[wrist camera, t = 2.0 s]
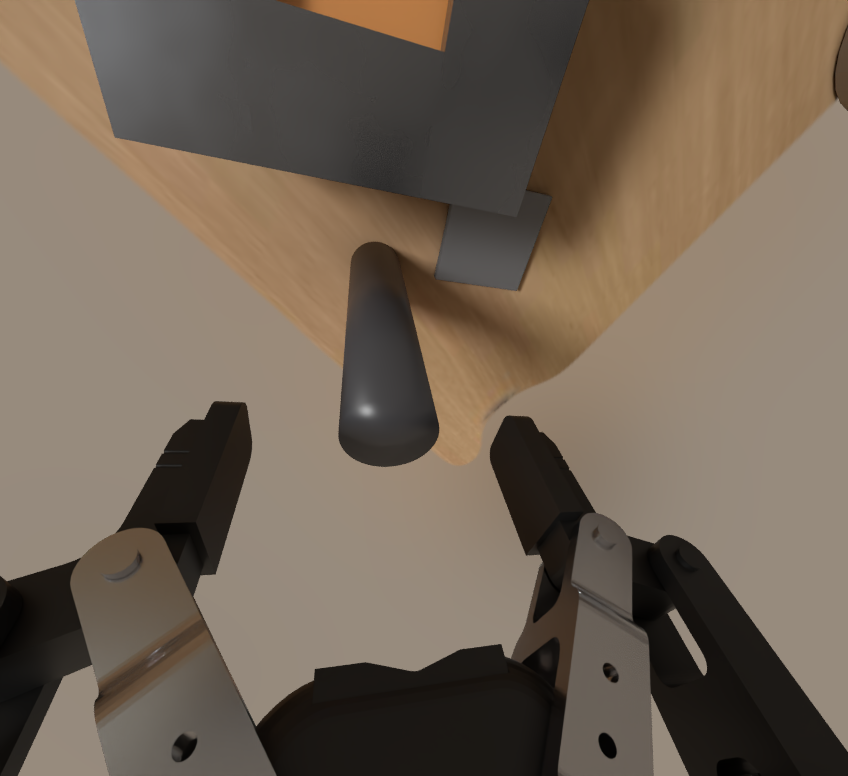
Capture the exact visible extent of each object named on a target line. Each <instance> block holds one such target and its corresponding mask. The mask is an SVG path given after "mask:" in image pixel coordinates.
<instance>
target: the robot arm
mask: <svg viewBox="0 0 848 776" xmlns="http://www.w3.org/2000/svg"><path fill="white" fill-rule="evenodd" d="M835 84H836V93H837V95H838V98H839V101H840V103H841V104H842V105H843V106H844V107H845V108H846V109H847V111H848V28H847V31H846V34H845V37H844V40H843V43H842V45H841V48H840V51H839V56H838V61H837V67H836V72H835ZM251 452H252V437H251V430H250V424H249V418H248V410H247V406H246V404H245V403H243V402H219V401H215V402H214V403H213V404H212V405H211V407H210V409H209V411H208V413H207V415H206V417H205V419H204V420H193V419H191V420H189V421H188V422H187V423H186V424H184V425H183V426H182V427H181V428H179V429H178V430H177V431H176V432H175V433H174V434H173V435H172V437H171V439H170V441H169V442H168V444H167V446H166V448H165V449H164V454H162V455H161V457H160V458H159V460H158V462H157V464H156V468H154V469H153V471H152V473H151V475H150V476H149V478H148V480H147V482H146V483H145V485H144V487H143V489H142V491H141V492H140V494H139V496H138V498H137V499H136V501H135V503H134V505H133V506H132V508H131V510H130V512H129V514H128V515H127V517H126V519H125V521H124V522H123V524H122V525H121V527H120V528H119V530H118V531H117V532H116V533H115V534H113V535H110V536H109V537H107V538H105V539H103V540H102V541H100V542H99V543H97V544H96V545H94V546H93V547H92V548H91V549H89V550H88V551H87V552H86V554H84V555H83V557H82V558H79V559H77V560H75V561H72V562H69V563H67V564H64V565H60V566H57V567H54V568H50V569H47V570H44V571H41V572H37V573H34V574H30V575H27V576H24V577H20V578H17V579H13V580H10V581H6V580H4V579H3V578H2V577H1V576H0V776H18V774H19V772H20V769H21V767H22V765H23V763H24V761H25V759H26V757H27V754H28V752H29V750H30V748H31V746H32V743H33V741H34V739H35V737H36V735H37V733H38V730H39V728H40V726H41V724H42V722H43V720H44V717H45V715H46V713H47V711H48V709H49V707H50V704H51V702H52V700H53V698H54V695H55V693H56V691H57V689H58V687H59V685H60V683H61V680H62V678H63V676H66V675H68V674H71V673H73V672H75V671H78V670H80V669H82V668H85V667H88V666H90V665H93V669H94V672H95V676H96V679H97V683H98V688H99V695H98V698H97V699H96V700H95V704H94V715H95V721H96V726H97V731H98V735H99V738H100V742H101V746H102V750H103V753H104V757H105V761H106V765H107V769H108V772H109V776H653V748H652V747H653V746H652V718H651V694H652V696H653V698H654V701H655V703H656V705H657V707H658V709H659V711H660V713H661V716H662V718H663V720H664V722H665V724H666V727H667V729H668V731H669V733H670V735H671V737H672V740H673V742H674V744H675V746H676V748H677V750H678V753H679V755H680V757H681V759H682V761H683V763H684V765H685V768H686V770H687V772H688V774H689V776H848V752H847V750H846V749H845V748H844V746H843V745H842V743H841V742H840V741H839V739H838V738H837V737H836V735H835V734H834V733H833V731H832V730H831V728H830V727H829V726H828V724H827V723H826V722H825V720H824V719H823V718H822V716H821V715H820V713H819V712H818V711H817V709H816V708H815V707H814V705H813V704H812V702H811V701H810V700H809V698H808V697H807V696H806V694H805V693H804V691H803V690H802V689H801V687H800V686H799V685H798V683H797V682H796V681H795V679H794V678H793V676H792V675H791V674H790V672H789V671H788V669H787V668H786V667H785V665H784V664H783V663H782V661H781V660H780V659H779V657H778V656H777V654H776V653H775V652H774V650H773V649H772V648H771V646H770V645H769V643H768V642H767V641H766V639H765V638H764V637H763V635H762V634H761V632H760V631H759V630H758V628H757V627H756V626H755V624H754V623H753V622H752V620H751V619H750V617H749V616H748V615H747V614H746V612H745V611H744V609H743V608H742V606H741V605H740V604H739V603H738V601H737V600H736V598H735V597H734V595H733V594H732V593H731V592H730V590H729V589H728V587H727V586H726V584H725V583H724V582H723V580H722V579H721V578H720V576H719V575H718V573H717V572H716V571H715V570H714V568H713V567H712V565H711V564H710V563H709V561H708V560H707V559H706V558H705V556H704V555H703V554H702V553H701V552H700V551H699V550H698V549H697V548H696V547H695V546H693V545H692V544H691V543H689V542H688V541H685V540H684V539H682V538H679V537H677V536H673V535H666V536H663V537H662V538H661V539H660V540H658V541H657V542H656V543H655V544H654V543H650V542H647V541H643V540H640V539H636V538H633V537H630V536H627V535H626V533H625V532H624V531H623V529H621V527H620V526H619V525H618V524H617V523H615V522H614V521H613V520H611V519H610V518H608V517H606V516H604V515H601V514H598V513H596V512H595V510H594V509H593V507H592V506H591V504H590V502H589V500H588V499H587V497H586V495H585V494H584V492H583V490H582V489H581V487H580V485H579V484H578V482H577V480H576V479H575V477H574V475H573V473H572V472H571V471H570V470H569V467H568V465H567V463H566V462H565V460H563V456H562V455H561V453H560V451H559V450H558V448H557V446H556V445H555V444H554V442H552V441H551V440H550V439H549V438H548V437H547V436H546V435H545V434H544V433H542V432H539V431H538V429H537V427H536V425H535V424H534V422H533V420H532V419H531V418H530V417H525V416H506V417H505V418H504V420H503V422H502V424H501V426H500V428H499V430H498V433H497V435H496V437H495V439H494V441H493V443H492V445H491V448H490V461H491V465H492V467H493V470H494V472H495V475H496V478H497V480H498V483H499V486H500V488H501V491H502V493H503V496H504V499H505V502H506V504H507V507H508V509H509V512H510V515H511V517H512V520H513V523H514V525H515V528H516V531H517V533H518V536H519V538H520V541H521V544H522V546H523V549H524V551H525V554H526V555H540V556H541V558H542V561H543V562H542V564H541V565H540V567H539V571H538V575H537V579H536V583H535V587H534V591H533V596H532V600H531V604H530V608H529V612H528V617H527V620H526V624H525V627H524V630H523V632H522V634H521V636H520V638H519V640H518V641H517V643H516V646H515V649H514V651H513V654H512V657H511V659H510V658H507V657H505V656H504V652H503V649H502V645H501V644H498V645H491V646H483V647H476V648H468V649H462V650H458V651H456V652H455V653H453V654H451V655H449V656H447V657H445V658H443V659H441V660H439V661H437V662H435V663H433V664H431V665H429V666H427V667H425V668H423V669H422V670H419V671H407V670H402V669H397V668H392V667H387V666H381V665H377V664H371V663H366V662H365V663H357V664H351V665H343V666H336V667H328V668H320V669H315V675H314V681H312V682H310V683H308V684H305V685H304V686H302V687H300V688H299V689H297V690H295V691H294V692H292V693H291V694H289V695H288V696H287V697H286V698H284V699H283V700H282V701H281V702H279V703H278V704H277V705H276V706H275V707H274V708H273V709H272V710H271V711H270V712H269V713H268V714H267V715H266V716H265V717H264V718H263V719H262V720H261V721H260V723H259V724H258V725H257V726H256V725H255V723H254V721H253V719H252V717H251V715H250V713H249V711H248V709H247V707H246V704H245V703H244V700H243V698H242V696H241V694H240V692H239V690H238V688H237V686H236V684H235V682H234V680H233V678H232V676H231V674H230V672H229V670H228V668H227V666H226V663H225V661H224V659H223V657H222V655H221V653H220V651H219V649H218V647H217V645H216V643H215V641H214V639H213V636H212V634H211V632H210V630H209V628H208V626H207V624H206V622H205V620H204V618H203V616H202V614H201V612H200V609H199V608H198V605H197V604H196V601H195V599H194V597H193V596H194V593H195V590H196V587H197V584H198V581H199V578H200V575H212V574H216V571H217V567H218V564H219V561H220V558H221V555H222V551H223V548H224V545H225V541H226V538H227V534H228V531H229V528H230V525H231V521H232V518H233V515H234V512H235V508H236V504H237V501H238V498H239V495H240V492H241V488H242V485H243V482H244V478H245V475H246V472H247V468H248V465H249V462H250V458H251ZM675 608H676V609H677V611H678V612H679V614H680V616H681V618H682V619H683V621H684V623H685V624H686V626H687V628H688V629H689V631H690V633H691V634H692V636H693V638H694V639H695V641H696V643H697V644H698V646H699V648H700V650H701V651H702V653H703V655H704V657H705V659H706V663H707V673H706V675H705V676H704V675H703V674H702V673H701V671H700V670H699V668H698V666H697V665H696V663H695V661H694V659H693V657H692V656H691V654H690V652H689V650H688V649H687V647H686V645H685V643H684V642H683V640H682V638H681V636H680V635H679V633H678V631H677V629H676V628H675V626H674V624H673V622H672V621H671V619H670V617H669V615H668V614H667V613H669V612H670V611H672V610H674V609H675Z"/></svg>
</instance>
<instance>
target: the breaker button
mask: <svg viewBox="0 0 848 776" xmlns="http://www.w3.org/2000/svg"><path fill="white" fill-rule="evenodd" d="M276 1H280V2H283V3H286V4H289V5H293V6H296V7H299V8H302V9H306V10H309V11H312V12H315V13H319V14H322V15H325V16H328V17H332V18H335V19H338V20H342V21H345V22H348V23H351V24H355V25H358V26H361V27H364V28H368V29H371V30H374V31H377V32H381V33H384V34H387V35H391V36H394V37H397V38H400V39H404V40H407V41H410V42H413V43H417V44H420V45H423V46H426V47H430V48H433V49H436V50H440V49H441V43H442V37H443V31H444V25H445V18H446V12H447V6H448V0H276Z"/></svg>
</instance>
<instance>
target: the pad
mask: <svg viewBox="0 0 848 776" xmlns="http://www.w3.org/2000/svg"><path fill="white" fill-rule="evenodd" d="M551 199H552V197H551V196H549V195H546V194H541V193H536V192H532V191H527V190H526V191H525V194H524V197H523V200H522V203H521V206H520V209H519V212H518V215H517V217H513V216H508V215H503V214H498V213H493V212H488V211H483V210H478V209H473V208H468V207H463V206H458V205H453V204H450V206H449V210H448V215H447V220H446V224H445V229H444V233H443V238H442V243H441V247H440V252H439V256H438V261H437V265H436V270H435V275H434V276H435V279H438V280H445V281H452V282H459V283H466V284H473V285H480V286H487V287H494V288H500V289H507V290H514V291H517V289H518V286H519V284H520V281H521V278H522V276H523V273H524V271H525V268H526V265H527V263H528V260H529V257H530V255H531V252H532V249H533V247H534V244H535V242H536V239H537V236H538V234H539V231H540V228H541V226H542V223H543V221H544V218H545V215H546V213H547V210H548V207H549V205H550V202H551Z"/></svg>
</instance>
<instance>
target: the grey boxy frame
mask: <svg viewBox="0 0 848 776" xmlns="http://www.w3.org/2000/svg"><path fill="white" fill-rule="evenodd" d="M588 2H589V0H448V6H447V12H446V18H445V25H444V31H443V37H442V43H441V49H440V50H436V49H433V48H430V47H426V46H423V45H420V44H417V43H413V42H410V41H407V40H404V39H400V38H397V37H394V36H391V35H387V34H384V33H381V32H377V31H374V30H371V29H368V28H364V27H361V26H358V25H355V24H351V23H348V22H345V21H342V20H338V19H335V18H332V17H328V16H325V15H322V14H319V13H315V12H312V11H309V10H306V9H302V8H299V7H296V6H293V5H289V4H286V3H283V2H280V1H276V0H75V3H76V6H77V9H78V13H79V16H80V20H81V23H82V27H83V30H84V33H85V37H86V40H87V44H88V47H89V51H90V54H91V57H92V61H93V64H94V68H95V71H96V75H97V78H98V81H99V85H100V88H101V92H102V95H103V99H104V102H105V105H106V109H107V112H108V116H109V119H110V123H111V126H112V130H113V133H114V136H115V137H116V138H121V139H126V140H131V141H136V142H141V143H146V144H151V145H156V146H161V147H166V148H171V149H176V150H181V151H186V152H191V153H196V154H201V155H206V156H211V157H217V158H222V159H227V160H232V161H237V162H242V163H247V164H252V165H257V166H262V167H267V168H272V169H277V170H282V171H287V172H292V173H297V174H302V175H307V176H312V177H317V178H322V179H327V180H332V181H337V182H342V183H347V184H352V185H357V186H362V187H367V188H372V189H377V190H382V191H387V192H393V193H398V194H403V195H408V196H413V197H418V198H423V199H428V200H433V201H438V202H443V203H448V204H453V205H458V206H463V207H468V208H473V209H478V210H483V211H488V212H493V213H498V214H503V215H508V216H513V217H517V215H518V212H519V209H520V206H521V203H522V200H523V197H524V194H525V191H526V188H527V185H528V182H529V179H530V176H531V173H532V170H533V167H534V164H535V161H536V158H537V155H538V152H539V149H540V146H541V143H542V140H543V137H544V134H545V131H546V128H547V125H548V122H549V119H550V116H551V113H552V110H553V107H554V104H555V101H556V98H557V95H558V92H559V89H560V86H561V83H562V80H563V77H564V74H565V71H566V68H567V65H568V62H569V59H570V56H571V53H572V50H573V47H574V44H575V41H576V38H577V35H578V32H579V29H580V26H581V23H582V20H583V17H584V14H585V11H586V8H587V5H588Z"/></svg>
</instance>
